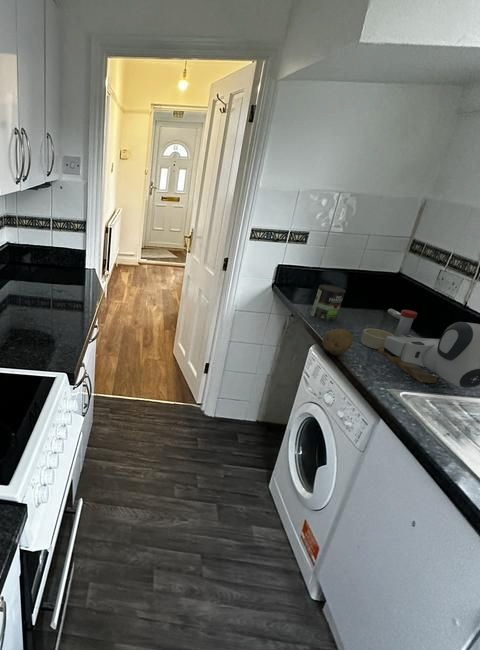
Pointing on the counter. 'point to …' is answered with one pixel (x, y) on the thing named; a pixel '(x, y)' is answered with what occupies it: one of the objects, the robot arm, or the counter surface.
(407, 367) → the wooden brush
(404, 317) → the tap
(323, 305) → the coffee can
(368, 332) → the basin
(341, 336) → the natural sponge
